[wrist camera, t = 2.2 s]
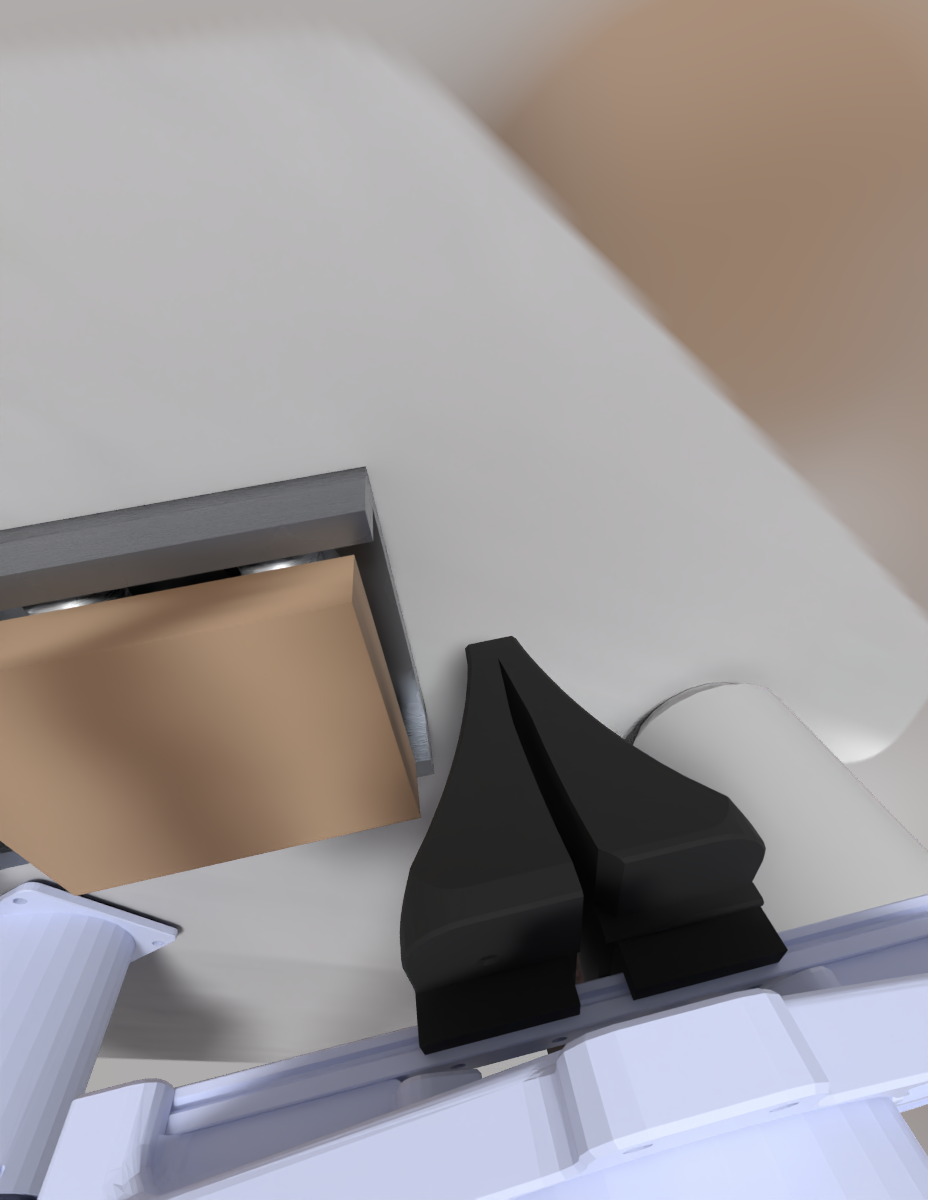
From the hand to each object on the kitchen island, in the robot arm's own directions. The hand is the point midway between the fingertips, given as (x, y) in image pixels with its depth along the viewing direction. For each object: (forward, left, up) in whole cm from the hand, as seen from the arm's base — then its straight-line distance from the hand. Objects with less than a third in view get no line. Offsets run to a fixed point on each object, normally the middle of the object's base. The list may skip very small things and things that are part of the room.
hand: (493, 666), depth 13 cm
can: (+5, -13, -4) cm, 15 cm away
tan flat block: (-7, +3, 0) cm, 8 cm away
